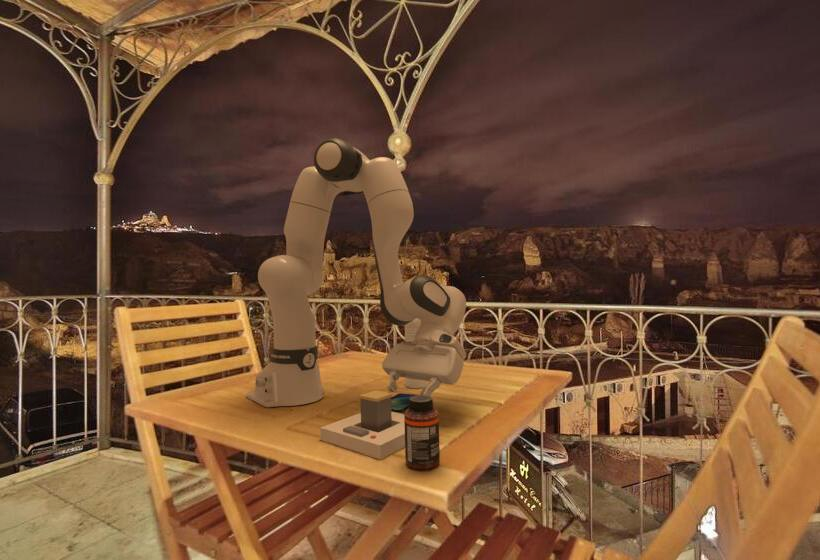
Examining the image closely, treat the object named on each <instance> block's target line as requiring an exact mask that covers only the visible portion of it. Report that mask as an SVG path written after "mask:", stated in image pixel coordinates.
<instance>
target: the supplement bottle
mask: <svg viewBox="0 0 820 560" xmlns="http://www.w3.org/2000/svg"><path fill="white" fill-rule="evenodd" d="M415 395H416V396H412V397H410V399H409V406H410V407H409V408H407V409H406V410H405V412H404V413H403V414H404V423H405V447H404V450H405V451H404V453H405V454H404V455H405V463H406V465H407V466H408V467H409V468H411V469H414V470H418V471H419V470H420V471H421V470H422V471H427V470H431V469H434V468H436V467H437V466H438V465H439V464H440V459H441V456H440V455H441V454H440V453H441V452H440V450H441V449H440V422H439V421H440V419H439V418H440V417H439V411H438V410H437V409H436V408H434V403H433V397H432V396H431V395H430V396H427V395H420V394H415Z"/></svg>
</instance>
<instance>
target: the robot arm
mask: <svg viewBox="0 0 820 560" xmlns="http://www.w3.org/2000/svg"><path fill="white" fill-rule="evenodd" d="M313 165H314V166H308V167H305V168H303V170H302V171H301V172H300V174H299V175H298V177H297V180H296V182H295V185H294V188H293V190H292V193H291V197H290V202H289V206H288V210H287V213H286V218H285V222H284V226H283V234H284V236H285V241H286V253H285V254H281V255H280V254H279V255H275V256H272V257H269V258H267V259H266V260H264V261H263V262H262V263H261V265H260V266H259V269H258V272H257V281H258V284H259V286H260V288H261V289H262V290H263V291H264V292H265V295H266V297H267V300H268V303H269V308H270V313H271V315H272V323H273V324H272V325H273V348H272V349H269V350H268V355H270V358H269V363H268V364H267V365H266V366H264V367H263V369H261V371H259V372H258V373H257V374H256V376H255V384H254V386H255V387H254V388H255V389H253V390H251V391H249V392H247V393H246V395H245V396H246V397H245V398H248V399H249V400H251V401H253V402H255V403H257V404H258V405H261V406H262V407H265V408H273V407H274V408H275V407H291V406H292V407H293V406H302V405H306V404H312V403H315V402H318V401H320V400H321V399H322V398H323V397H324V395H323V394H324V393H325V388H324V387H322V379H321V372H320V371H321V370H320V365H319V363H318V362H317V359H319V355H318V354H319V350H318V346H317V345H316V344H317V341H316V330H317V329H316V317H315V314H314V313H313V312H312V309H311V306H310V302H309V301H310V300H309V295H311V294H312V295H313V294H314V293H316V292H317V291H318V290H319V289H320V288H321V287H322V286H323V284H324V281H325V272H324V269H323V265H324V245H325V239H326V234H327V230H328V225H329V221H330V218H331V217H330V216H331V212H332V208H333V204H334V200H335V198H336V196H337V195H338V194H341V195H342V196H351V195H363V194H364V197H365V200H366V203H367V207H368V208H367V209H368V212H369V215H370V220H371V228H372V229H371V230H372V235H371V236H372V238H371V239H372V240H371V241H372V242H371V243H372V250H373V257H374V260H375V267H376V271H377V276H378V281H379V287H380V300H379V305H380V306H379V308H380V311H381V313H382V316H383V317H384V318H385V320H386V321H387V322H389V323H390V324H392V325H393V326H397V327H398V326H401V327H402V326H405V325H406V324H408V323H409V322H411V321H413V320H414V319H417V318H418V319H419V320H420V321H421V325H420V327H419V329H418V331H417V333H416V335H415V337H414V338H413V340H412V342H406V341H405V340H403V341H401V342H399V343H396V344H395V345H394V346H393V347H392V348H391V349H390V351H389V352H388V353H387V355H386V356H385V358H384V359H383V361H382V363H381V367H382V369H383V371H384V372H385V373H386V374H387V375H389V383H388V385H387V386H386V388H387V391H389V393H397V390H398V388H399V386H398V384H397V381H399V379H400V378H405V379H406V378H411V379H418V380H424V381H427V382H429V384H427V386H426V387H423V388H421V391H420V393H419V395H427V396H430V397H431V395H432V394H433V393H434V392H435V391H436V390H437V389H438V388H440V386H441V384H445V385H455V384H456V383H457V382H458V381H459V380H460V377H461V375H462V371H463V368H464V361H465V359H466V358H467V352H466V350H465V348H464V346H463V345H462V344H461V342H460V341H459V339H458V338H457V337H456V336H455V333H456V332H457V331H458V330H459V328H460V325H461V323H462V322H463V320H464V319H463V318H464V317H465V313H466V309H467V299H466V296H465V294H464V293H463V292H462V291H461V290H460V289H458V288H457V287H455V286H452V285H451V286H450V285H444V284H441V283H439V282H438V281H437V280H436V279H435V278H433V276H430V275H427V274H418V275H416V276H413V277H411V278H410V279H408V280H406V281H403V277H402V273H401V272H402V270H401V265H400V261H399V248H400V246H401V242H402V240H403V238H404V236H405V235H406V233H407V232H408V230H409V229H410V227H411V226H412V223H413V221H414V215H415V214H414V213H415V212H414V206H413V200H412V197H411V194H410V192H409V188H408V186H407V183H406V181H405V179H404V176H403V174H402V172H401V170H400V167H398V165H397V163H396V162H395V161H394V160H393V159H392V158H390V157H386V156H378V157H375V158H372V159H370V158H368V157H367V156H366V155H365V154H364V153H363V152H362V151H361V150H359V149H357V148H355V147H354V146H353V145H352V144H350V143H349V142H347V141H345V140H343V139H339V138H335V137H334V138H333V137H332V138H327V139H325V140H322V141H321V142H320V143H319V144H318V145H317V147H316V149H315V151H314V153H313Z"/></svg>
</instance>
